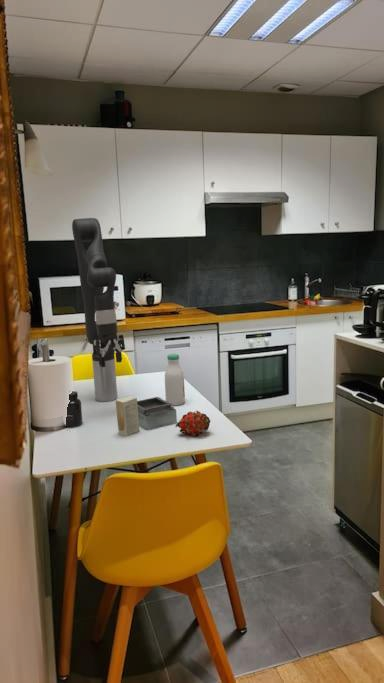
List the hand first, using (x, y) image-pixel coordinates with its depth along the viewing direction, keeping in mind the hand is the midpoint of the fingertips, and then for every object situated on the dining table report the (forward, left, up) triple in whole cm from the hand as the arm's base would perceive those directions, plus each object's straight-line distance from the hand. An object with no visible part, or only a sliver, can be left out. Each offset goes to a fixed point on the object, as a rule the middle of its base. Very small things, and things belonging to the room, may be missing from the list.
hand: (111, 364), depth 188 cm
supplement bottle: (+1, -17, -20) cm, 26 cm away
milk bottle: (+3, +25, -20) cm, 32 cm away
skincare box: (+21, -4, -20) cm, 29 cm away
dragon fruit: (+36, +13, -20) cm, 43 cm away
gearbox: (+15, +8, -20) cm, 26 cm away
